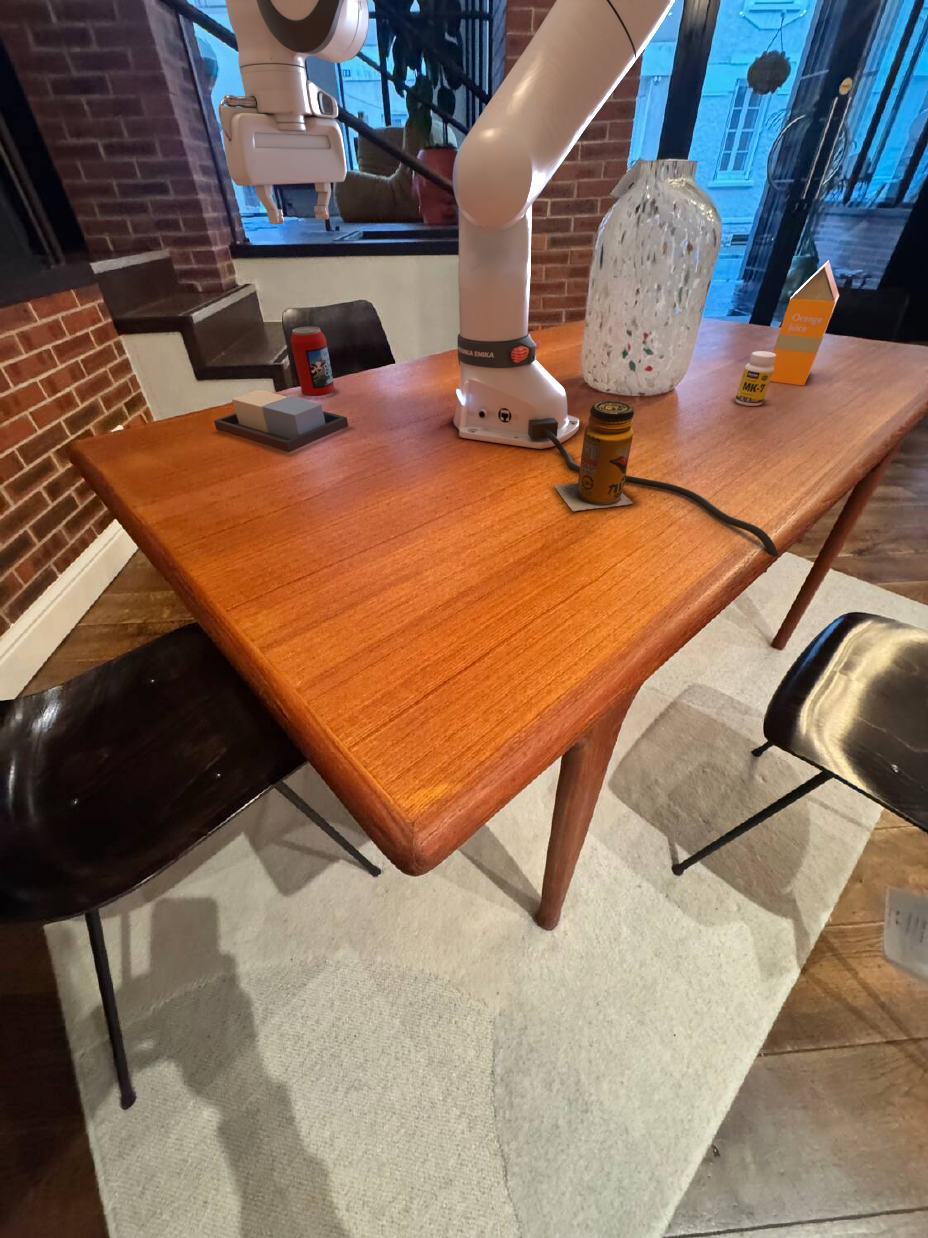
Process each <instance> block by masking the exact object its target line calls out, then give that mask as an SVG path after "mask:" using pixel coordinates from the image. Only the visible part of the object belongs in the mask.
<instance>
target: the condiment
mask: <svg viewBox="0 0 928 1238" xmlns="http://www.w3.org/2000/svg"><path fill="white" fill-rule="evenodd" d="M589 412H590V413H589V417H588V424H587V425H586V427H585V429H584V431H583V432H584V433H583V440H582V449H581V457H580V463H579V466H580V472H579V473H578V480H577V482H575V483H569V484H558V485H557V484H555V485H554V488H555V489H556V491H557V492H558V494H559V495H560V496H561V498H562V499H563V501H564V502H565V503H566V504H567V506H568V507H569V508H570V510H571V511H572V512H577V511H586V510H594V509H604V508H611V507H621V506H626V505H631V504H634V502H633V501H632V500H631V499H630V498H629V497H627V496H626V494H625V493H623V490H624V486H625V482H624V481H625V475H627V469H628V464H629V460H630V459H629V458H630V453H631V448H632V443H633V437H634V430H633V427H632V426H633V418H634V415H635V408H634V407H633V406H632V404H630V403H627V402H624V401H619V400H600V401H597V402H595V403H594V404H593V405H591V407H590V409H589Z"/></svg>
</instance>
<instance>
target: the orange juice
mask: <svg viewBox="0 0 928 1238" xmlns="http://www.w3.org/2000/svg"><path fill="white" fill-rule="evenodd" d="M839 297H840V293H839V290H838V287H837V283H836V281H835V277H834V274H833V270H832V267H831V263H830V259H827V261H826V262H825V263H824V264H823V265H822V266H821V267H819V269H818V270H817V271H816V272H815V273H814V274H813V275H811V276H810V278H808V280H806V281H805V282H804V283H803V284H802V285H801V286H800V287H799V288H798V289H797V290H796V291H795V292H794V293H793V295H791V297H790V298H789V302H788V305H787V308H786V311H785V313H784V315H783V320H782V323H781V326H780V329H779V333H778V335H777V338H776V341H775V344H774V347H773V350H772V353H774V354H776V358H775V362H774V364H772V366H773V367H774V371H773V374H772V377H771V379H770V382H772V383H773V382H774V383H782V384H789V385H796V386H797V385H798V386H805V385H806V382H807V380H808V378H809V375H810V373H811V371H812V368H813V365H814V362H815V360H816V357H817V354H818V352H819V350H820V346H821V345H822V342H823V340H824V337H825V334H826V331H827V328H828V325H829V323H830V320H831V318H832V316H833V313H834V310H835V307H836V305H837V301H838V300H839Z"/></svg>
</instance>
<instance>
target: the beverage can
mask: <svg viewBox="0 0 928 1238" xmlns="http://www.w3.org/2000/svg"><path fill="white" fill-rule="evenodd" d="M291 332H292V333H291V337H290V345H291V350H292V354H293V360H294V363H295V367H296V373H297V376H298V381H299V385H300V390H301V393H302V394H303V395H306V396H311V397H317V396H319V397H320V396H325V395H328V394H330V393H333V392H334V390H335V384H334V378H333V372H332V366H331V361H330V354H329V350H328V344H327V339H326V336H325V334H324V333H323V332H322V331H321V328H320V327H319V326H301V327H296V328H294V329H292V330H291Z"/></svg>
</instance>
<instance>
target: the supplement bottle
mask: <svg viewBox="0 0 928 1238" xmlns="http://www.w3.org/2000/svg"><path fill="white" fill-rule="evenodd" d="M775 358H776V354H774V353H773V351H772V352H771V351H766V350H765V351H764V350H757V351H752V352H751V355H750V357H749V361H748V363H746V365H745V367H744V369H743V372H742V375H741V380H740V381H739V385H738V389H737V392H736V395H735V398H734V400H735V402H736V403H737V404H739V405H742V406H747V407H757V406H761V405H762V404H763V402H764V400H765V397H766V394H767V391H768V388H769V385H770V382H771V381H770V379H771V377H772V374H773V371H774V367H773V366H772V364H774V362H775Z"/></svg>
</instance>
